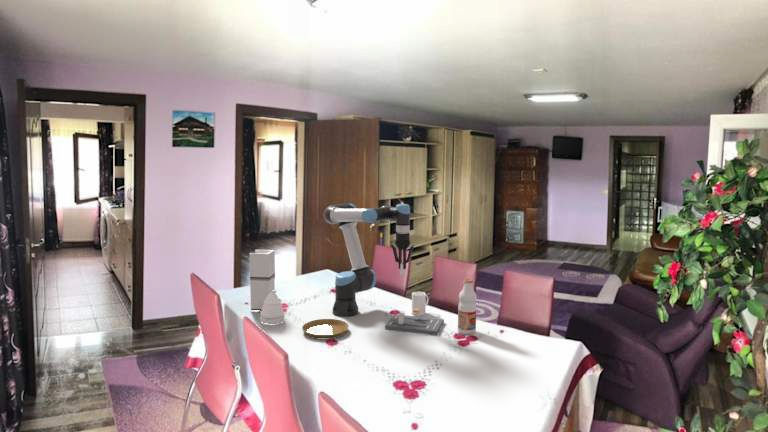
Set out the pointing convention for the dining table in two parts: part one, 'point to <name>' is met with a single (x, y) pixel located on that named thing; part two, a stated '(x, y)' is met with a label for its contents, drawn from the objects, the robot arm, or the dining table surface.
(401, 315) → the fader
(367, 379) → the dining table surface
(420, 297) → the mug
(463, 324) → the fruit juice
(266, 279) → the tall grey box
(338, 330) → the plant saucer
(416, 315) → the fader
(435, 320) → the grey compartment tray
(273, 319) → the honey pot
